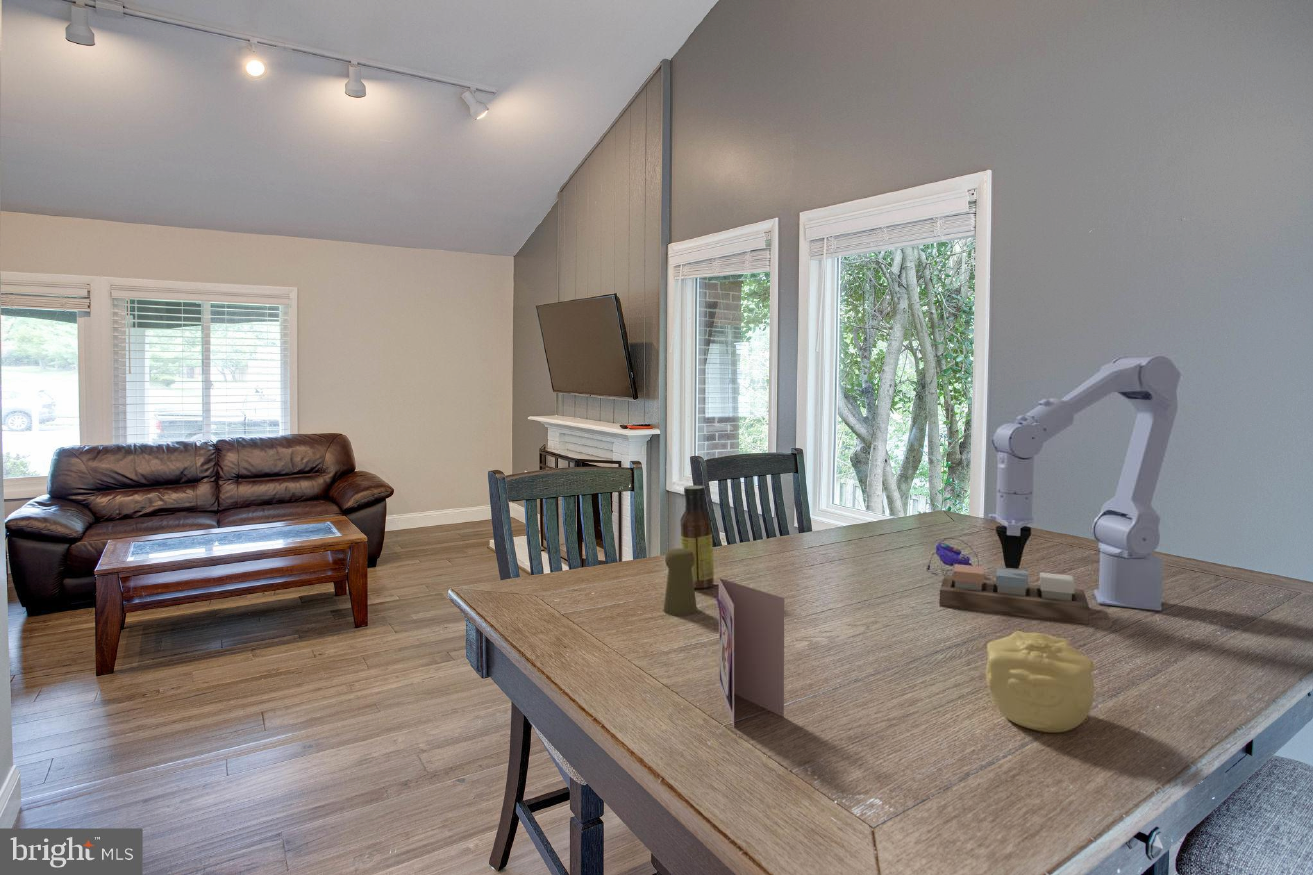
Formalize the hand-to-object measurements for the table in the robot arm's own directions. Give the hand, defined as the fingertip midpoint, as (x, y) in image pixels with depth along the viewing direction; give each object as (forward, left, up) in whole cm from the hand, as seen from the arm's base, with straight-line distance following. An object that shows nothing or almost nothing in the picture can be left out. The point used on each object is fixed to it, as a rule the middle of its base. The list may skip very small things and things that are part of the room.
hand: (1011, 567), depth 129 cm
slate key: (0, 0, -4) cm, 4 cm away
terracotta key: (+7, 0, -4) cm, 8 cm away
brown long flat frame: (0, 0, -7) cm, 7 cm away
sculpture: (-3, +45, -7) cm, 46 cm away
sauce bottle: (+56, +11, -7) cm, 58 cm away
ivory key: (-7, 0, -4) cm, 8 cm away
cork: (+53, +26, -7) cm, 59 cm away
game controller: (+11, -17, -8) cm, 22 cm away
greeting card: (+30, +56, -7) cm, 64 cm away
